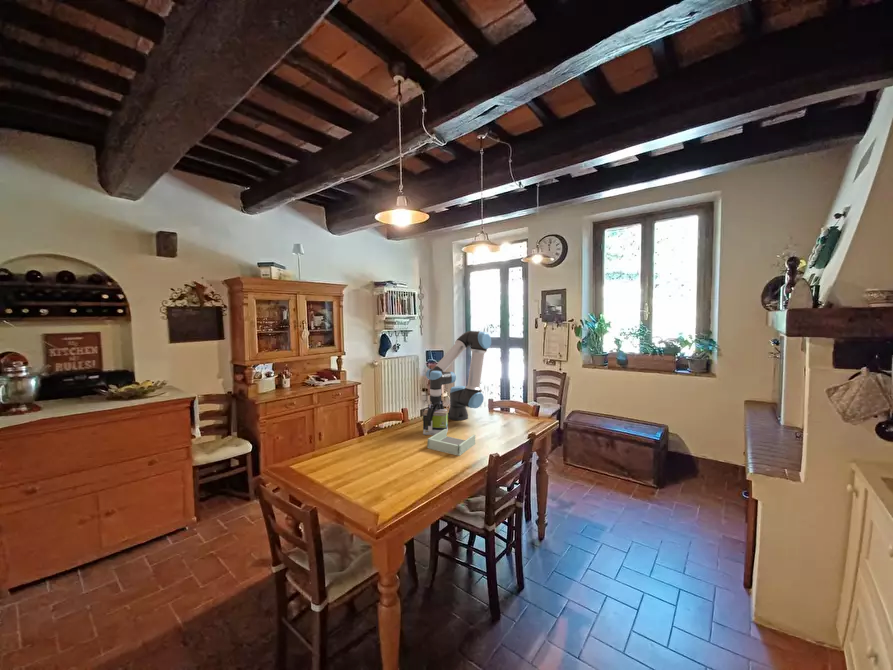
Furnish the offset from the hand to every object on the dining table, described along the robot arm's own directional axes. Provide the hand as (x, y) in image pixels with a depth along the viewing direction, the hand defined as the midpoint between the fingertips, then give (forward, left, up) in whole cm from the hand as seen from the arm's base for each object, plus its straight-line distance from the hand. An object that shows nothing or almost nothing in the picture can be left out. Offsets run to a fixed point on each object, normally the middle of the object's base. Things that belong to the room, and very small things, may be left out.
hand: (435, 427), depth 236 cm
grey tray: (+14, +20, -3) cm, 25 cm away
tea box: (0, 0, -4) cm, 4 cm away
